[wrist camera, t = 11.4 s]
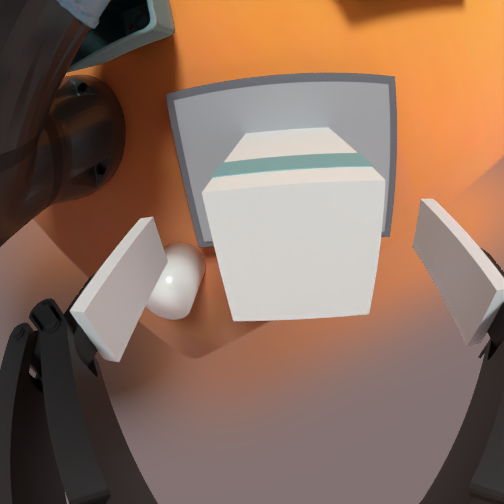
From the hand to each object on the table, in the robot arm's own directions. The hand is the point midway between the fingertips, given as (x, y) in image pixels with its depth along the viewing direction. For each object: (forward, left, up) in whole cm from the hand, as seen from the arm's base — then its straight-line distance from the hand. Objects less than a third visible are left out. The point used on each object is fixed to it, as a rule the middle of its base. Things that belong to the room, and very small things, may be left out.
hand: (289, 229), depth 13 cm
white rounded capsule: (-14, -12, -16) cm, 24 cm away
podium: (0, 0, -16) cm, 16 cm away
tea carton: (0, -1, -12) cm, 12 cm away
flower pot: (-12, +17, -16) cm, 26 cm away
